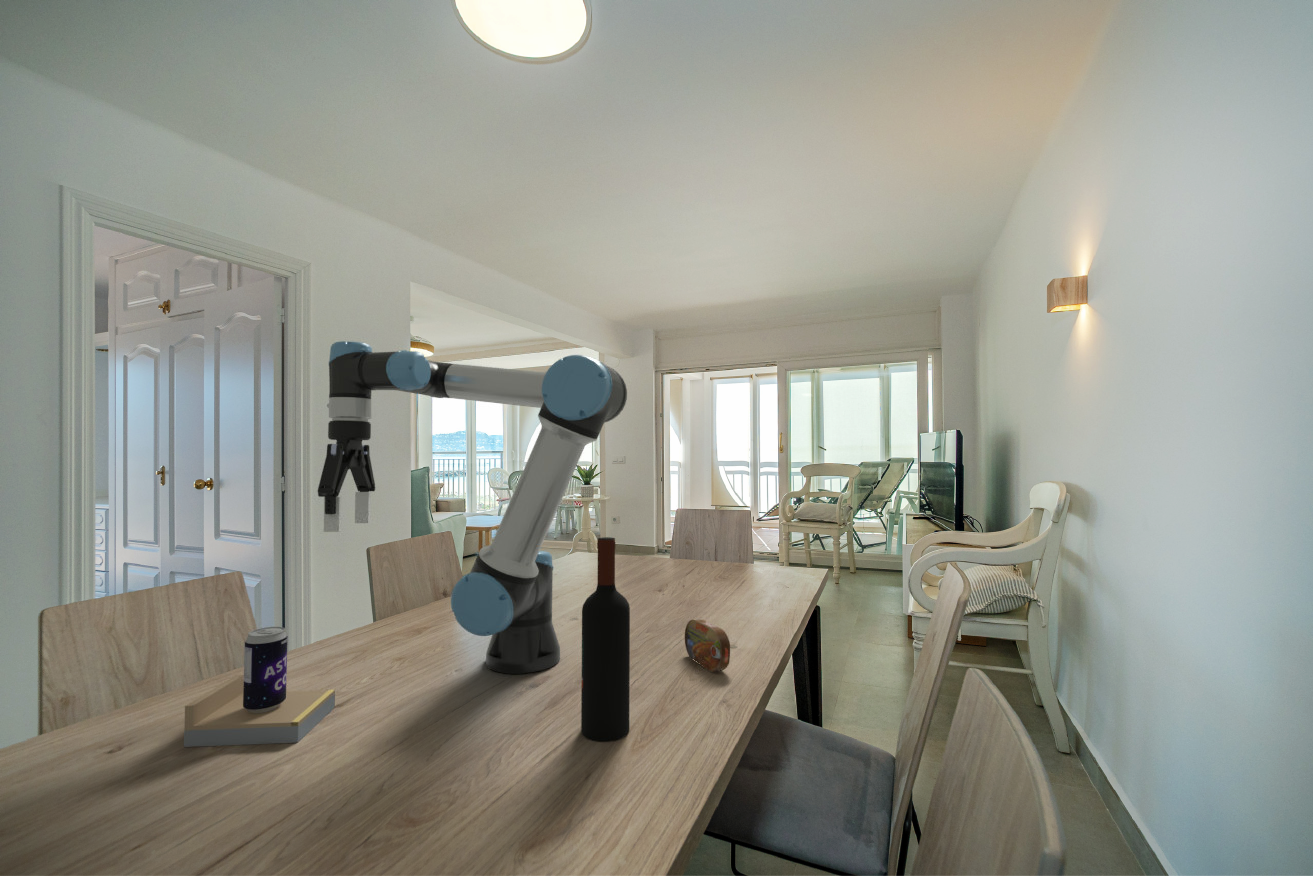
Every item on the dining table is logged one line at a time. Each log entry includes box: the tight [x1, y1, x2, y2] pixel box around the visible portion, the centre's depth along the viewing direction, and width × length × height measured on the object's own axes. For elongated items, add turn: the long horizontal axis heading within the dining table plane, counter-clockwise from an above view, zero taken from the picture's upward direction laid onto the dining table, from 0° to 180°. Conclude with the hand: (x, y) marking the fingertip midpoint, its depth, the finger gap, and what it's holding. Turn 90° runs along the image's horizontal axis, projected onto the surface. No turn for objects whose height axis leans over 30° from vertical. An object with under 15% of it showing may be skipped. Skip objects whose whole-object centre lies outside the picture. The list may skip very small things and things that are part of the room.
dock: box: [183, 674, 336, 748], centre depth 93 cm, size 16×12×6 cm
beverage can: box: [243, 626, 289, 713], centre depth 92 cm, size 6×6×12 cm
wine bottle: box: [580, 536, 631, 743], centre depth 92 cm, size 8×8×30 cm
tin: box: [684, 619, 731, 673], centre depth 120 cm, size 15×3×8 cm, turn 25°
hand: (348, 527), depth 115 cm, fingers open, 13 cm apart
